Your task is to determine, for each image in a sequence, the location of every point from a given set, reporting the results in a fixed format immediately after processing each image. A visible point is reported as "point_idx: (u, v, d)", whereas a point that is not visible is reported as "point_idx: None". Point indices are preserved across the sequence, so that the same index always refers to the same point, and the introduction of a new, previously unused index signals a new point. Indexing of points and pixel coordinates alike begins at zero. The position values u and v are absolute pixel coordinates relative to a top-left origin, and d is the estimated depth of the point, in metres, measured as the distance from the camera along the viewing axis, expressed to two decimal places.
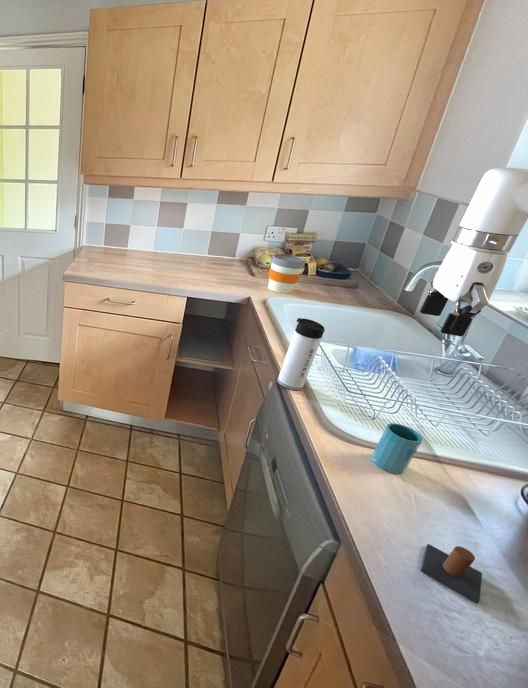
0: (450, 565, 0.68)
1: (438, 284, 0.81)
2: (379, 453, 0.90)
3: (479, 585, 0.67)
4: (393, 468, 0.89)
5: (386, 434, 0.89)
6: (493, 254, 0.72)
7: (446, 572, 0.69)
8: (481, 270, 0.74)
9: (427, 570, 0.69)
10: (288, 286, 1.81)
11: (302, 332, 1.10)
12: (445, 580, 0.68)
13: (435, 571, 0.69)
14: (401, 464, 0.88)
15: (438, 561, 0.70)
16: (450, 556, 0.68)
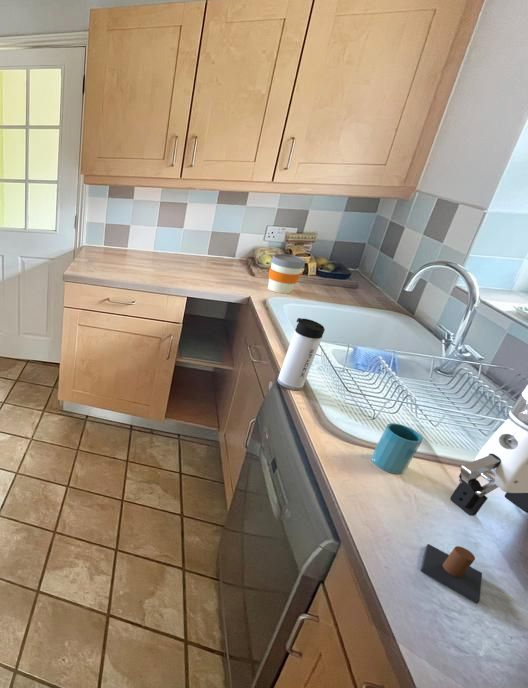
0: (450, 565, 0.68)
1: None
2: (379, 453, 0.90)
3: (479, 585, 0.67)
4: (393, 468, 0.89)
5: (386, 434, 0.89)
6: (522, 429, 0.57)
7: (446, 572, 0.69)
8: (512, 446, 0.58)
9: (427, 570, 0.69)
10: (288, 286, 1.81)
11: (302, 332, 1.10)
12: (445, 580, 0.68)
13: (435, 571, 0.69)
14: (401, 464, 0.88)
15: (438, 561, 0.70)
16: (450, 556, 0.68)
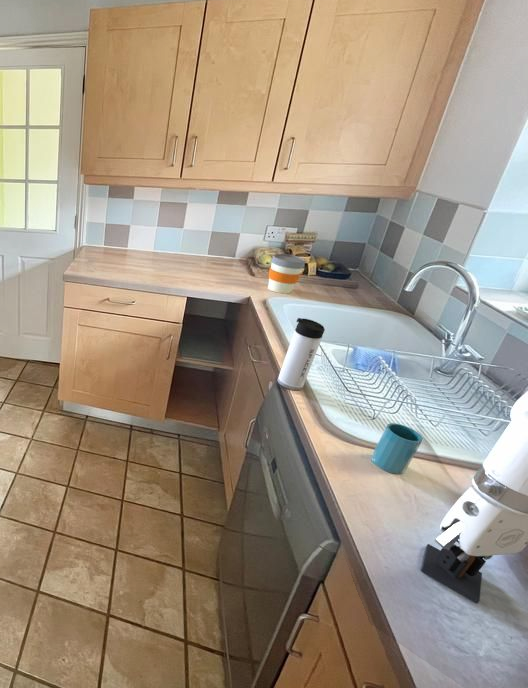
0: None
1: None
2: (379, 453, 0.90)
3: (479, 585, 0.67)
4: (393, 468, 0.89)
5: (386, 434, 0.89)
6: (483, 499, 0.61)
7: (446, 572, 0.69)
8: (474, 512, 0.63)
9: (427, 570, 0.69)
10: (288, 286, 1.81)
11: (302, 332, 1.10)
12: (445, 580, 0.68)
13: (435, 571, 0.69)
14: (401, 464, 0.88)
15: None
16: None
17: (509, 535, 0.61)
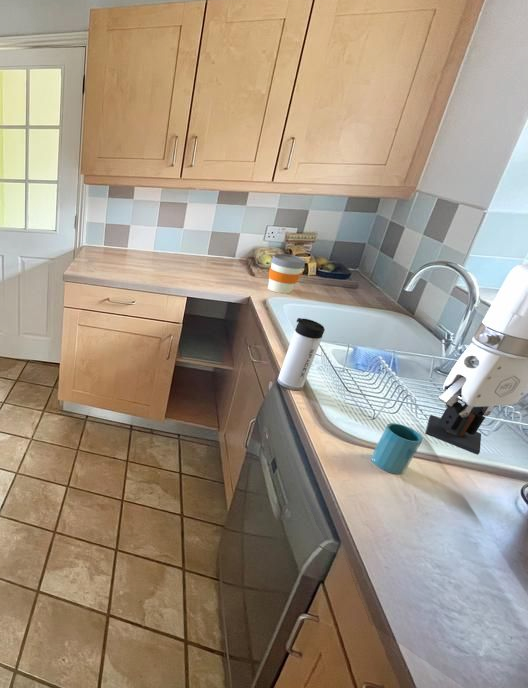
0: None
1: None
2: (379, 453, 0.90)
3: (479, 441, 0.72)
4: (393, 468, 0.89)
5: (386, 434, 0.89)
6: (483, 350, 0.66)
7: (448, 433, 0.74)
8: (475, 366, 0.68)
9: (431, 432, 0.74)
10: (288, 286, 1.81)
11: (302, 332, 1.10)
12: (448, 438, 0.73)
13: (438, 432, 0.74)
14: (401, 464, 0.88)
15: None
16: None
17: (507, 383, 0.67)
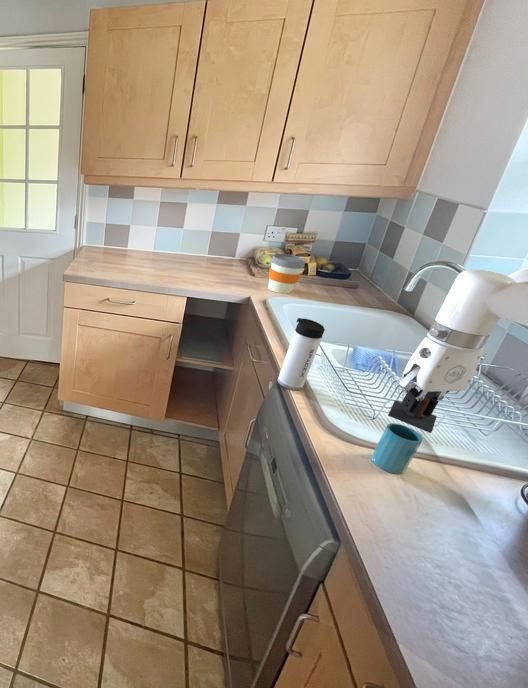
0: None
1: None
2: (379, 453, 0.90)
3: (433, 422, 0.84)
4: (393, 468, 0.89)
5: (386, 434, 0.89)
6: (434, 342, 0.78)
7: (408, 415, 0.86)
8: (428, 356, 0.80)
9: (393, 414, 0.86)
10: (288, 286, 1.81)
11: (302, 332, 1.10)
12: (406, 419, 0.84)
13: (399, 414, 0.86)
14: (401, 464, 0.88)
15: None
16: None
17: (454, 371, 0.78)
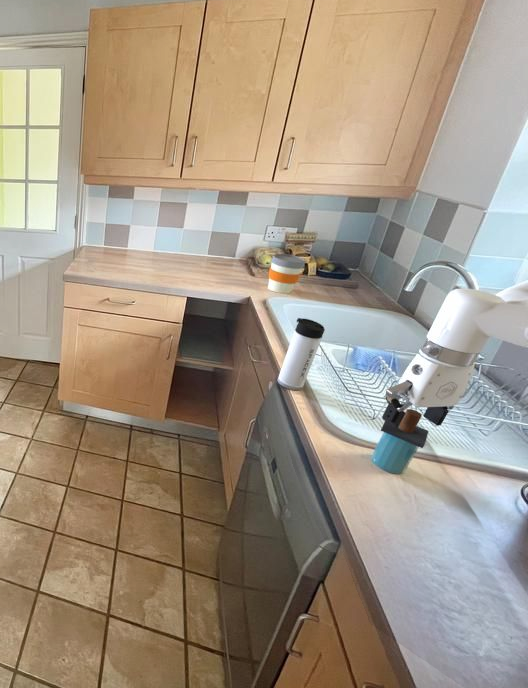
0: (403, 424, 0.87)
1: None
2: (379, 453, 0.90)
3: (425, 437, 0.85)
4: (393, 468, 0.89)
5: (386, 434, 0.89)
6: (425, 360, 0.80)
7: (400, 430, 0.87)
8: (420, 373, 0.81)
9: (386, 429, 0.87)
10: (288, 286, 1.81)
11: (302, 332, 1.10)
12: (399, 434, 0.86)
13: (391, 429, 0.87)
14: (401, 464, 0.88)
15: None
16: (403, 417, 0.87)
17: (446, 388, 0.80)
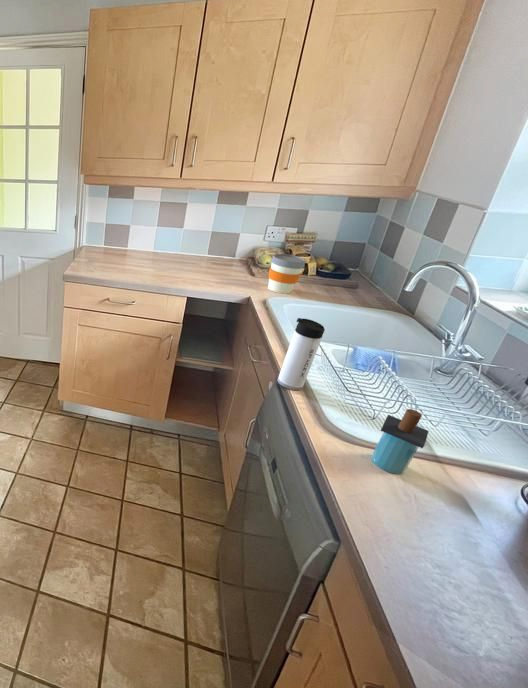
0: (403, 424, 0.87)
1: None
2: (379, 453, 0.90)
3: (425, 437, 0.85)
4: (393, 468, 0.89)
5: (386, 434, 0.89)
6: None
7: (400, 430, 0.87)
8: None
9: (386, 429, 0.87)
10: (288, 286, 1.81)
11: (302, 332, 1.10)
12: (399, 434, 0.86)
13: (391, 429, 0.87)
14: (401, 464, 0.88)
15: (395, 424, 0.89)
16: (403, 417, 0.87)
17: None
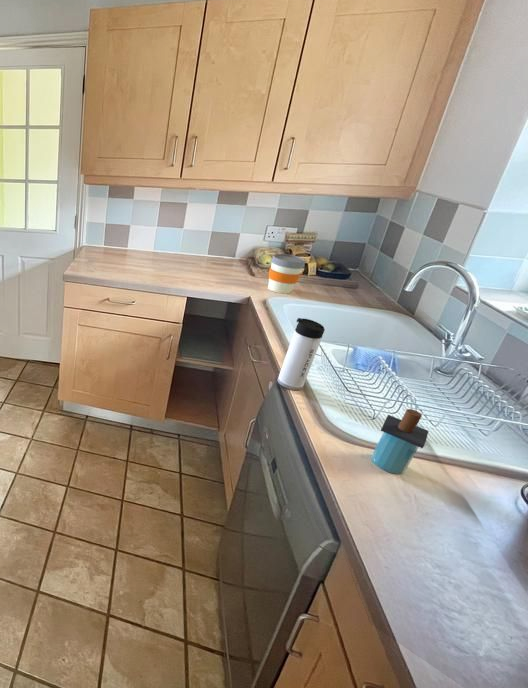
0: (403, 424, 0.87)
1: None
2: (379, 453, 0.90)
3: (425, 437, 0.85)
4: (393, 468, 0.89)
5: (386, 434, 0.89)
6: None
7: (400, 430, 0.87)
8: None
9: (386, 429, 0.87)
10: (288, 286, 1.81)
11: (302, 332, 1.10)
12: (399, 434, 0.86)
13: (391, 429, 0.87)
14: (401, 464, 0.88)
15: (395, 424, 0.89)
16: (403, 417, 0.87)
17: None
